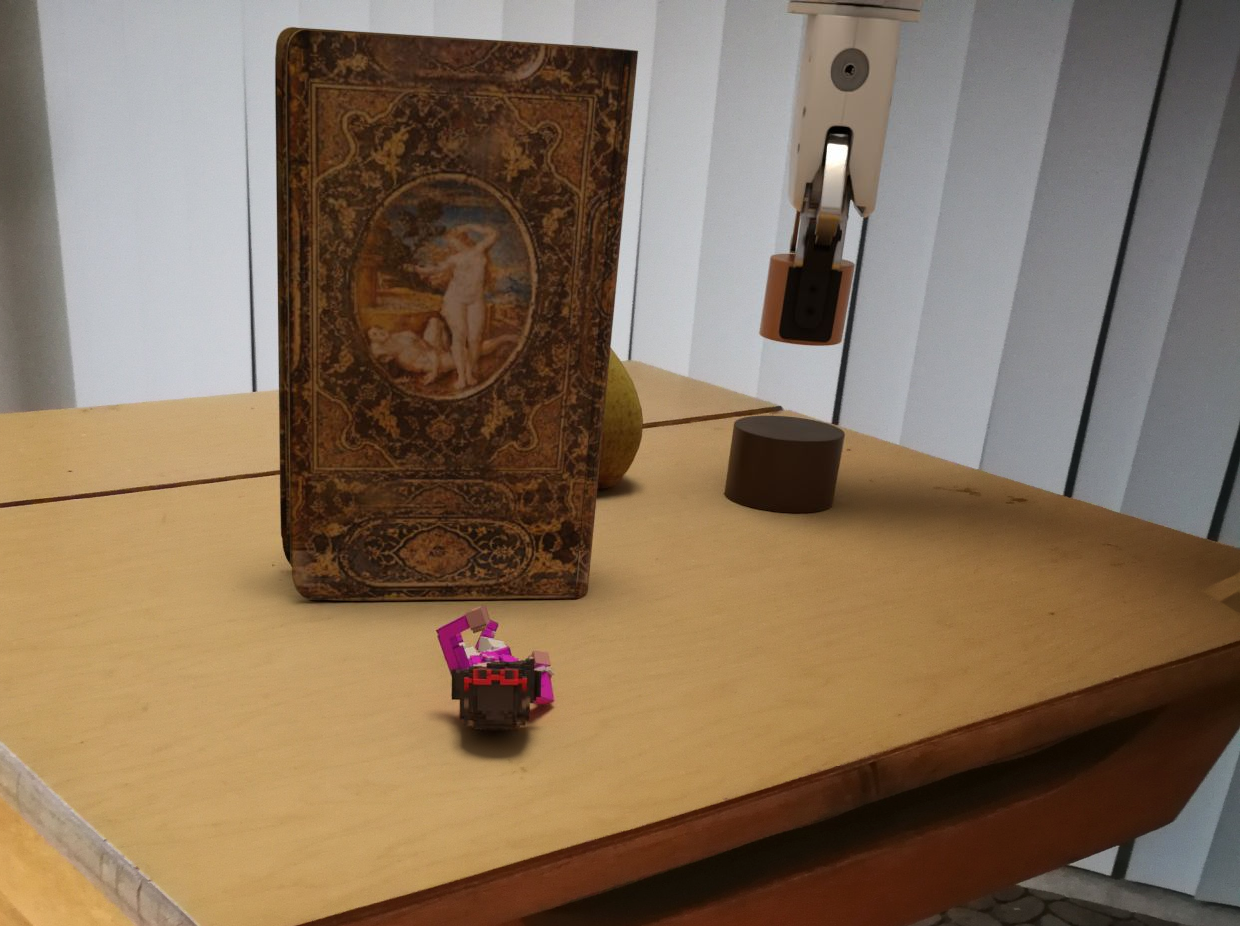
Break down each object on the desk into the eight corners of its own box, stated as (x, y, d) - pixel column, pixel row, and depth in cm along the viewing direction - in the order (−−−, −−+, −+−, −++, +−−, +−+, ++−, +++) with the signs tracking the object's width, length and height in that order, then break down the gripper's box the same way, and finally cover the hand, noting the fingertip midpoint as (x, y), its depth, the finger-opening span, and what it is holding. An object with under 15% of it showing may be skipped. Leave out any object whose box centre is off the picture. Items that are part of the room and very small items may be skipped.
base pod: (829, 489, 105) (841, 420, 102) (835, 517, 99) (848, 445, 96) (724, 479, 105) (733, 411, 103) (724, 506, 99) (734, 435, 97)
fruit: (661, 486, 103) (683, 292, 96) (573, 507, 97) (590, 302, 90) (565, 459, 107) (579, 272, 101) (475, 478, 102) (485, 281, 95)
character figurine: (415, 675, 73) (442, 748, 63) (420, 567, 71) (449, 623, 60) (531, 680, 74) (578, 752, 64) (540, 573, 72) (590, 629, 61)
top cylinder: (838, 334, 99) (852, 257, 96) (844, 348, 94) (858, 268, 92) (758, 327, 99) (769, 250, 96) (759, 341, 95) (771, 261, 92)
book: (572, 567, 86) (617, 47, 73) (598, 598, 82) (651, 51, 68) (281, 569, 83) (271, 25, 69) (291, 602, 78) (283, 27, 65)
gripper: (942, -11, 79) (872, 362, 89) (908, -5, 93) (852, 315, 103) (796, -21, 80) (743, 350, 89) (786, -14, 94) (741, 305, 104)
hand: (802, 328), depth 96 cm, fingers closed on top cylinder, 5 cm apart
